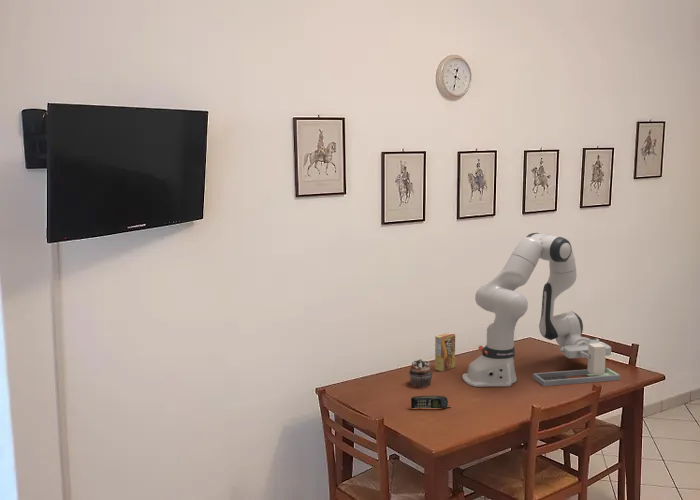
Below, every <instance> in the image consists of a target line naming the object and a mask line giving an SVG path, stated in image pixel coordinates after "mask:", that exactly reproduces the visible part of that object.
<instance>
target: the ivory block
mask: <svg viewBox="0 0 700 500" xmlns="http://www.w3.org/2000/svg"><path fill="white" fill-rule="evenodd" d="M588 354H590V355H591V359H587V368H586V369H587V371H588V372H589V373H591V374H593V375H602V374H605V368H606V356H605V354H606V346H604V345H602V344H600V343H594V344H588Z"/></svg>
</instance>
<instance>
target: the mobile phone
mask: <svg viewBox="0 0 700 500" xmlns="http://www.w3.org/2000/svg"><path fill="white" fill-rule="evenodd" d="M410 403H411V405H410V408H444V409H446V407H447V406H449V404H448V403H449V401H448V398H447V397H446V396H445V395H420V396H419V395H417V396H416V395H415V396H412V397H411V398H410Z"/></svg>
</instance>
